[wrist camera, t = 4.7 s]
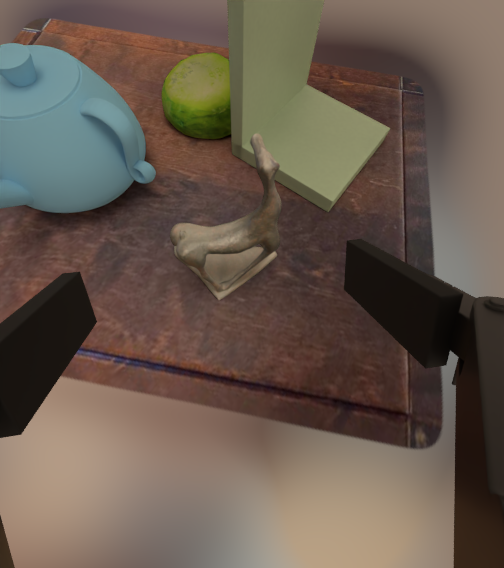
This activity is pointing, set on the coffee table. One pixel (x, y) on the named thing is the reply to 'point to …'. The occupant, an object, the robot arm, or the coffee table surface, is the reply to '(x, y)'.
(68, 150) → the teapot
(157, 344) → the coffee table surface
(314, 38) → the rack
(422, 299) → the robot arm
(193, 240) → the figurine
